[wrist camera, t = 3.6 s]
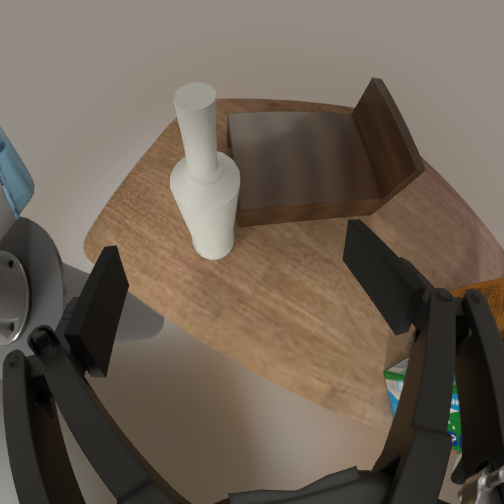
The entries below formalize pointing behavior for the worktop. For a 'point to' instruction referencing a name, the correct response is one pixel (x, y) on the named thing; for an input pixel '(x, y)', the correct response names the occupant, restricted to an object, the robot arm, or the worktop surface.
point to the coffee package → (489, 298)
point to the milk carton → (394, 385)
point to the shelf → (322, 160)
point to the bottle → (204, 174)
